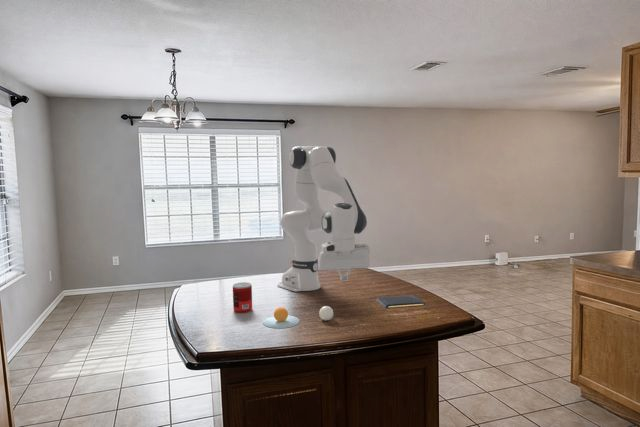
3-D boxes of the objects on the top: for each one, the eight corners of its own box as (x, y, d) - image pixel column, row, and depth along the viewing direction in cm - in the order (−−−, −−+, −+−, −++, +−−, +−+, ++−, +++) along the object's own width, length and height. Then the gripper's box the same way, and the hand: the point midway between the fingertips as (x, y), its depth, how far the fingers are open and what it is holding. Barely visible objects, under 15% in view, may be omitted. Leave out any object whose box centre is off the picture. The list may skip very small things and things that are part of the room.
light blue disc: (255, 323, 162) (255, 323, 161) (279, 313, 173) (279, 313, 173) (283, 331, 153) (283, 330, 153) (306, 319, 165) (306, 319, 165)
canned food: (255, 308, 181) (254, 282, 180) (246, 314, 173) (245, 287, 172) (239, 306, 183) (238, 281, 182) (230, 312, 176) (229, 286, 175)
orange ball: (277, 303, 163) (290, 307, 163) (274, 308, 167) (287, 312, 168) (274, 316, 159) (288, 320, 160) (271, 321, 163) (284, 325, 164)
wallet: (416, 293, 195) (429, 303, 180) (416, 297, 195) (429, 307, 180) (374, 296, 192) (384, 306, 177) (374, 300, 192) (384, 310, 177)
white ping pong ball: (332, 303, 163) (337, 313, 166) (320, 302, 166) (325, 312, 169) (326, 313, 159) (331, 324, 162) (314, 312, 162) (319, 322, 165)
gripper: (367, 242, 169) (367, 276, 171) (317, 244, 166) (317, 279, 167) (371, 245, 163) (372, 280, 164) (319, 247, 160) (320, 283, 161)
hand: (344, 279), depth 166 cm, fingers closed
